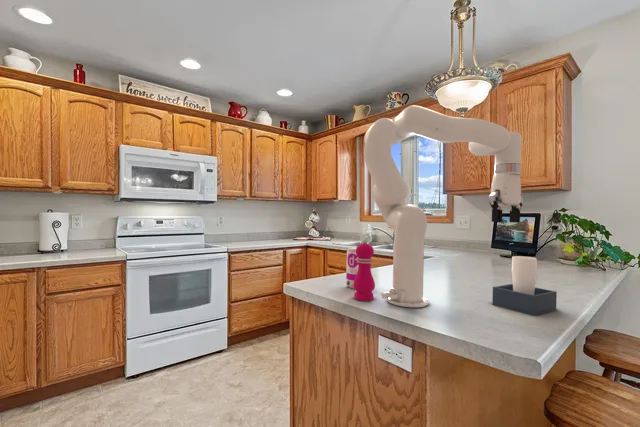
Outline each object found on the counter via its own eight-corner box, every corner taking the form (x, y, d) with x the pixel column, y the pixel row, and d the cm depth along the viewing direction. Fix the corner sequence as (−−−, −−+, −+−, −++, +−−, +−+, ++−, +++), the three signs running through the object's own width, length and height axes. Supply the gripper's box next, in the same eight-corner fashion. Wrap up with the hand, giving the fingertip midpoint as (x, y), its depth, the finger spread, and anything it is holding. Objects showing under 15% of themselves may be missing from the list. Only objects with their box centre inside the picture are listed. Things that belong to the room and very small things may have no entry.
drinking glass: (540, 308, 95) (541, 259, 95) (516, 307, 97) (516, 258, 97) (530, 302, 102) (531, 256, 102) (507, 301, 103) (508, 255, 103)
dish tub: (534, 315, 91) (535, 296, 91) (492, 304, 102) (492, 286, 102) (556, 309, 97) (556, 291, 97) (514, 299, 108) (514, 283, 108)
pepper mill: (360, 302, 101) (361, 240, 101) (349, 296, 108) (350, 238, 108) (379, 300, 104) (380, 239, 104) (367, 294, 110) (368, 237, 110)
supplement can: (361, 290, 117) (362, 249, 117) (342, 287, 121) (343, 248, 121) (370, 286, 124) (371, 248, 124) (352, 283, 128) (352, 246, 128)
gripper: (511, 174, 112) (510, 222, 112) (480, 169, 104) (478, 221, 104) (534, 171, 105) (532, 223, 105) (502, 166, 97) (501, 222, 97)
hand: (505, 222), depth 104 cm, fingers open, 9 cm apart
